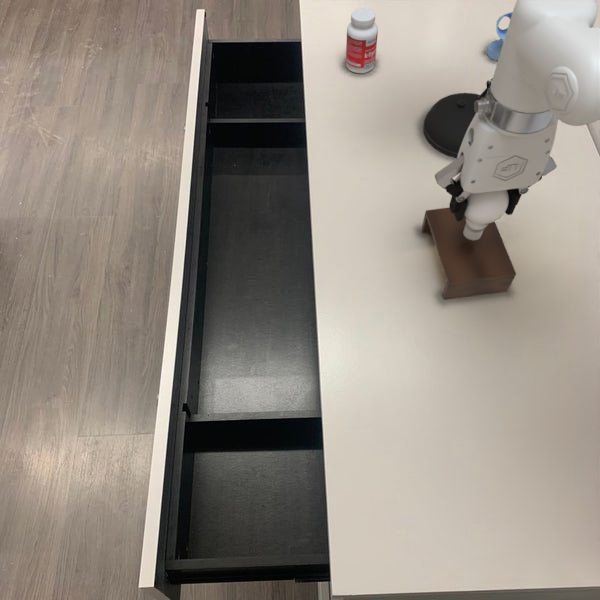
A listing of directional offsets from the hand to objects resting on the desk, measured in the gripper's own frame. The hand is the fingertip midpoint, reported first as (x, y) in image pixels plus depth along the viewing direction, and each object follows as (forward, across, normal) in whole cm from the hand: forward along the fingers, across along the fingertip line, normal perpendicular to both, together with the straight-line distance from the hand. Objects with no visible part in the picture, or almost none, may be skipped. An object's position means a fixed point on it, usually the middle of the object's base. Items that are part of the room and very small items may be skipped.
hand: (481, 209), depth 75 cm
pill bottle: (+12, -7, +52) cm, 54 cm away
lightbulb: (+6, 0, 0) cm, 6 cm away
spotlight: (+12, +22, +50) cm, 56 cm away
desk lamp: (+12, +8, +29) cm, 33 cm away
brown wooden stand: (+12, 0, 0) cm, 12 cm away
